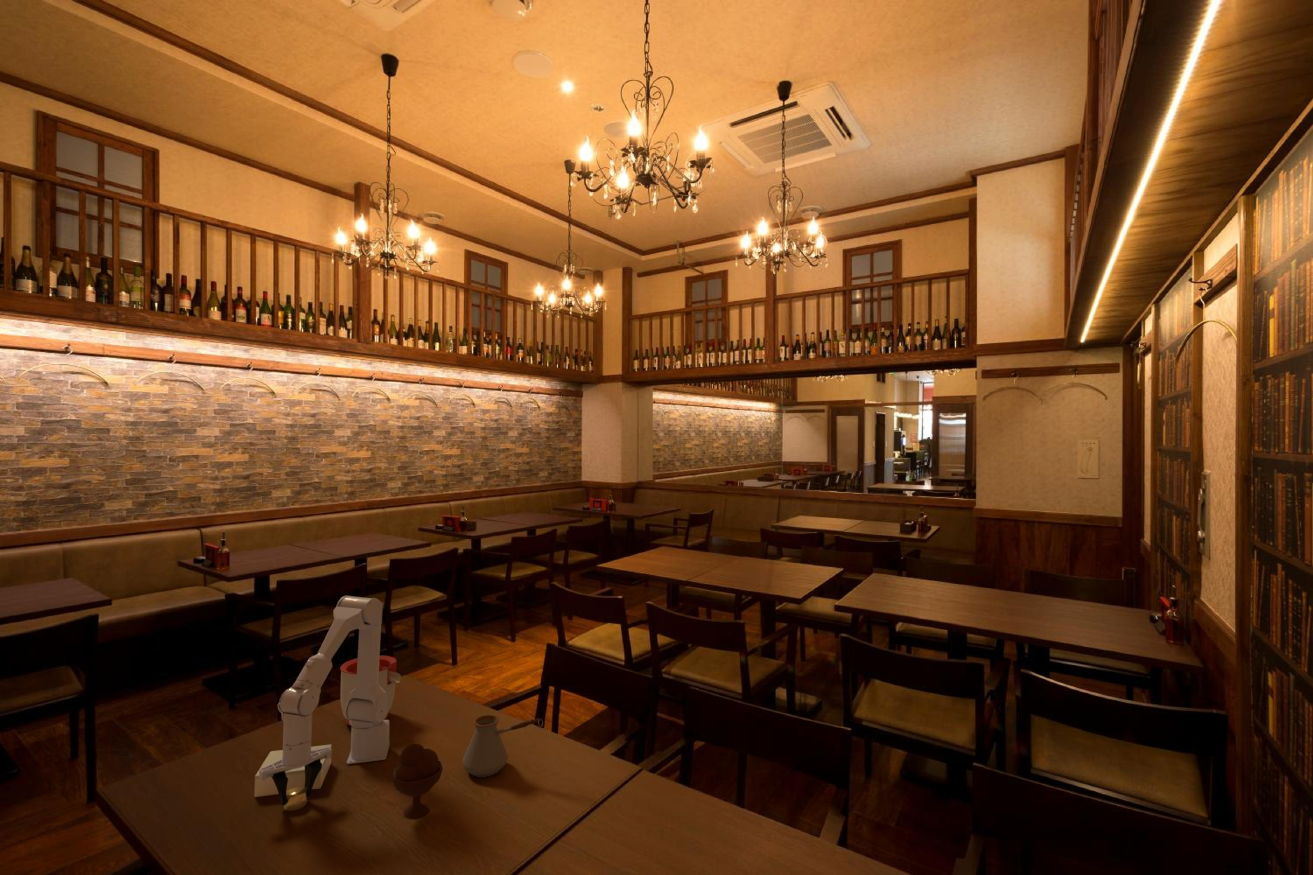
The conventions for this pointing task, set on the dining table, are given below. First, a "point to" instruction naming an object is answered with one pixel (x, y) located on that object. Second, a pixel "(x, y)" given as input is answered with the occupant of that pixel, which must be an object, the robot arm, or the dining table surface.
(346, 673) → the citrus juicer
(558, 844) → the dining table surface
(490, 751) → the coffee pot
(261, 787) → the beige square holder
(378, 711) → the robot arm
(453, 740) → the dining table surface
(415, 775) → the ice cream bowl
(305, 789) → the gold rounded piece
